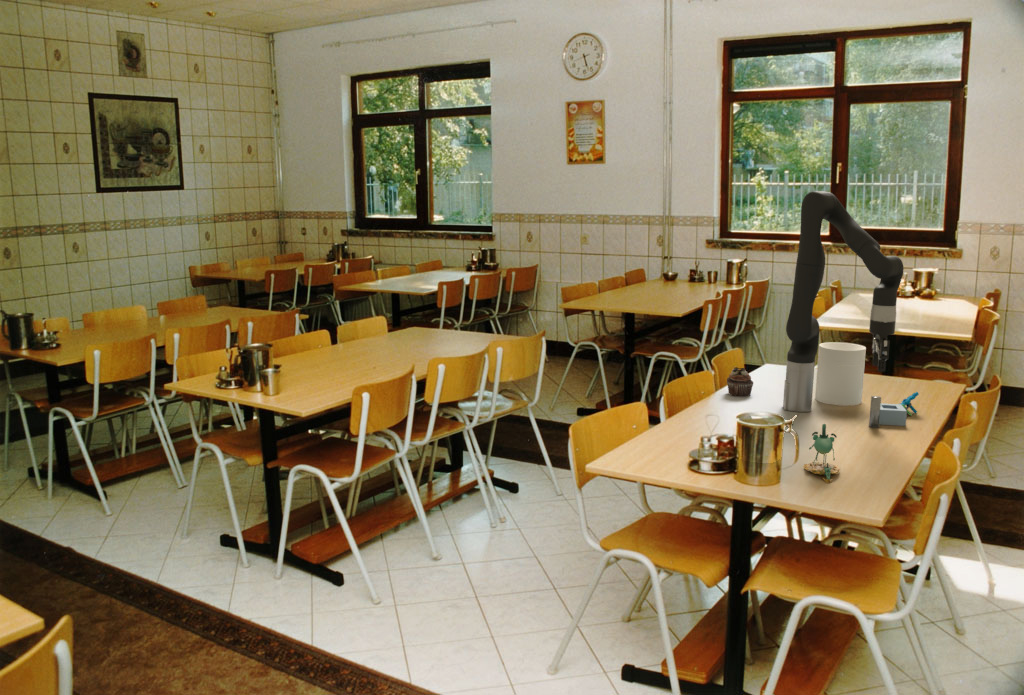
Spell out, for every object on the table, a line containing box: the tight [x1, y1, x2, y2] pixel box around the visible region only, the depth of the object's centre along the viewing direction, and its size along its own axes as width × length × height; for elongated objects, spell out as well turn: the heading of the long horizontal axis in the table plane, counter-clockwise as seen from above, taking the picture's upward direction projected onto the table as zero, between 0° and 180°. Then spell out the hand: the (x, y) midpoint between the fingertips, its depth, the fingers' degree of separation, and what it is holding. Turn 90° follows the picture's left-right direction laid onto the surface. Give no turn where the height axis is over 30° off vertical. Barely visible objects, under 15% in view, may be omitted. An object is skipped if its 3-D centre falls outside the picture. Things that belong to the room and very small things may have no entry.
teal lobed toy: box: [900, 391, 920, 417], centre depth 307 cm, size 11×6×10 cm
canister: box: [814, 341, 867, 407], centre depth 322 cm, size 16×16×20 cm
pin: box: [868, 395, 882, 429], centre depth 288 cm, size 3×3×10 cm
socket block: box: [879, 402, 908, 427], centre depth 295 cm, size 9×9×5 cm
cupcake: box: [726, 366, 754, 398], centre depth 331 cm, size 10×10×10 cm
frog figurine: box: [803, 423, 841, 484], centre depth 244 cm, size 10×18×15 cm, turn 157°
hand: (878, 368), depth 286 cm, fingers open, 8 cm apart
